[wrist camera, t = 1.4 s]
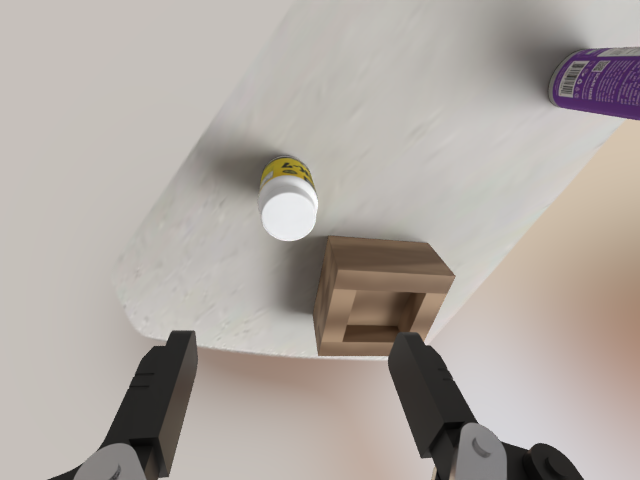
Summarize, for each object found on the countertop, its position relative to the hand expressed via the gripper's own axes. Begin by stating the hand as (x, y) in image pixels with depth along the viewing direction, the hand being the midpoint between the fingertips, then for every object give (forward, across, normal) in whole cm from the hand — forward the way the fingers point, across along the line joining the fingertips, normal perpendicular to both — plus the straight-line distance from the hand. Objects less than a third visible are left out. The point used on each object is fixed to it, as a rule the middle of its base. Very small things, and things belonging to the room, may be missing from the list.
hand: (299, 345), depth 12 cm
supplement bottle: (+20, 0, 0) cm, 20 cm away
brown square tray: (+20, -11, +12) cm, 26 cm away
